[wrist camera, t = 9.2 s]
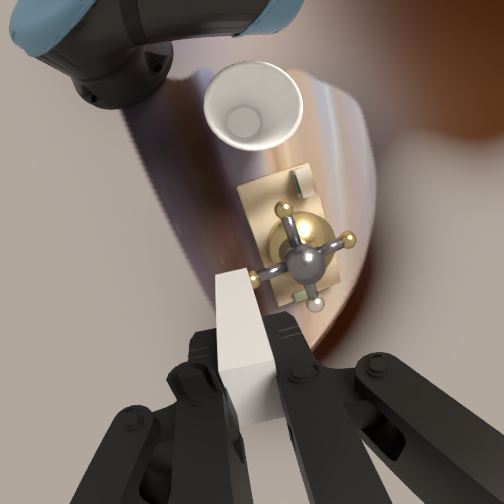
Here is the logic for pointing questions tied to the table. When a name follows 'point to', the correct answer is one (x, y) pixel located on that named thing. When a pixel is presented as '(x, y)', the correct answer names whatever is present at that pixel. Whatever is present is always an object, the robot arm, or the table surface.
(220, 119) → the cup
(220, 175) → the table surface
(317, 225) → the capstan
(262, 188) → the stand
